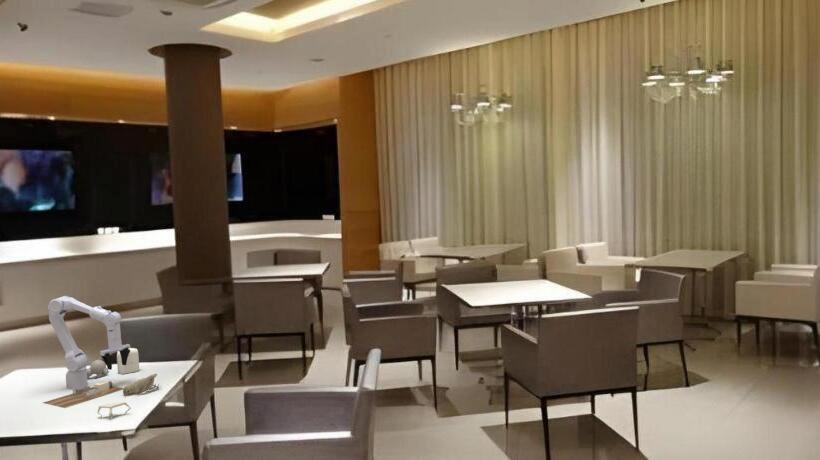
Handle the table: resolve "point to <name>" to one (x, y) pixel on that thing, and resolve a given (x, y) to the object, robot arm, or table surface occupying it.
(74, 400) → the base board
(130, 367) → the photo printer
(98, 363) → the round bodied animal figurine
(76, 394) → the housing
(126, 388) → the decorative bird
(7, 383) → the table surface
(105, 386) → the plug
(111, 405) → the white arched legged piece
